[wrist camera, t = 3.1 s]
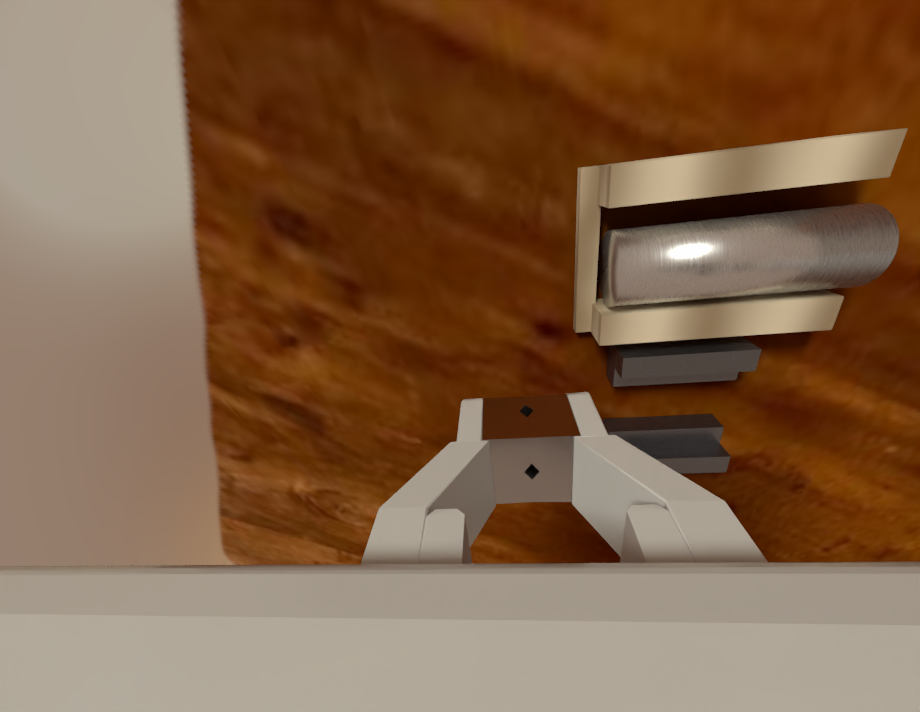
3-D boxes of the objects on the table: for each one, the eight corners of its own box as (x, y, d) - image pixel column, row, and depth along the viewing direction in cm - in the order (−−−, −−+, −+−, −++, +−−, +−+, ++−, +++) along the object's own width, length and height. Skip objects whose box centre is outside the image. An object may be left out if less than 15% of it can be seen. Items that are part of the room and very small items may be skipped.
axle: (847, 191, 20) (919, 222, 17) (808, 263, 23) (862, 302, 20) (604, 218, 22) (626, 251, 18) (595, 283, 24) (613, 321, 21)
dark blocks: (732, 329, 25) (761, 349, 22) (704, 444, 29) (726, 472, 26) (609, 338, 25) (623, 358, 23) (600, 448, 30) (611, 475, 27)
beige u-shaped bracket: (849, 133, 19) (907, 128, 17) (793, 311, 24) (831, 329, 21) (577, 167, 21) (590, 168, 18) (573, 328, 25) (583, 346, 23)
